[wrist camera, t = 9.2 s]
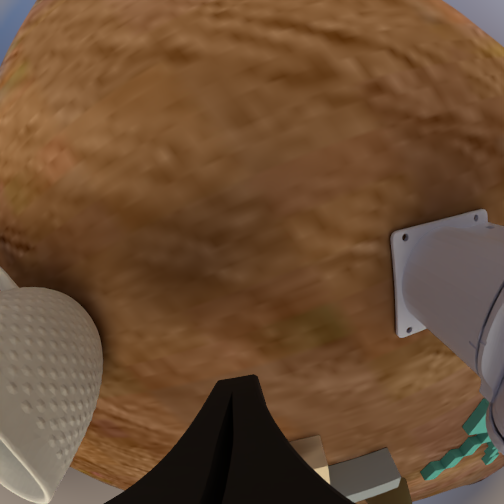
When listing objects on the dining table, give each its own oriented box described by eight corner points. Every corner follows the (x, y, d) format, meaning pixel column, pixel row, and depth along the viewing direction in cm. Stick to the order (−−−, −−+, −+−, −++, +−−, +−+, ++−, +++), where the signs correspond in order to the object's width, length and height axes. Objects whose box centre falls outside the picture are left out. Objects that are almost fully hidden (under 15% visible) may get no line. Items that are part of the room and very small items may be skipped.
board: (387, 447, 23) (401, 477, 18) (385, 458, 23) (398, 487, 19) (184, 484, 23) (178, 515, 19) (191, 493, 24) (187, 523, 19)
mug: (-17, 273, 18) (-116, 326, 5) (35, 191, 16) (-114, 218, 4) (80, 401, 20) (18, 503, 8) (156, 354, 19) (88, 508, 6)
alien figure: (485, 455, 27) (552, 361, 23) (491, 463, 25) (559, 367, 21) (419, 469, 25) (510, 348, 21) (424, 480, 23) (521, 357, 19)
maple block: (319, 433, 22) (327, 465, 18) (324, 465, 23) (331, 493, 19) (231, 449, 22) (230, 482, 18) (247, 479, 23) (248, 508, 19)
